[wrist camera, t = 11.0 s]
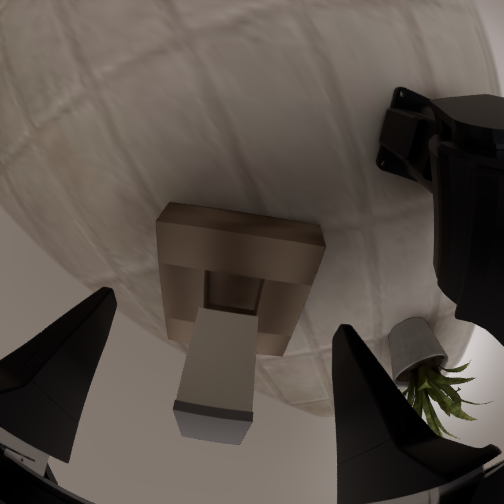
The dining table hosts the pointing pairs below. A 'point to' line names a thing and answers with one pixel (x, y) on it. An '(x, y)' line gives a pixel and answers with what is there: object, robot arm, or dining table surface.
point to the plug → (218, 378)
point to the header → (236, 269)
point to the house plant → (424, 371)
